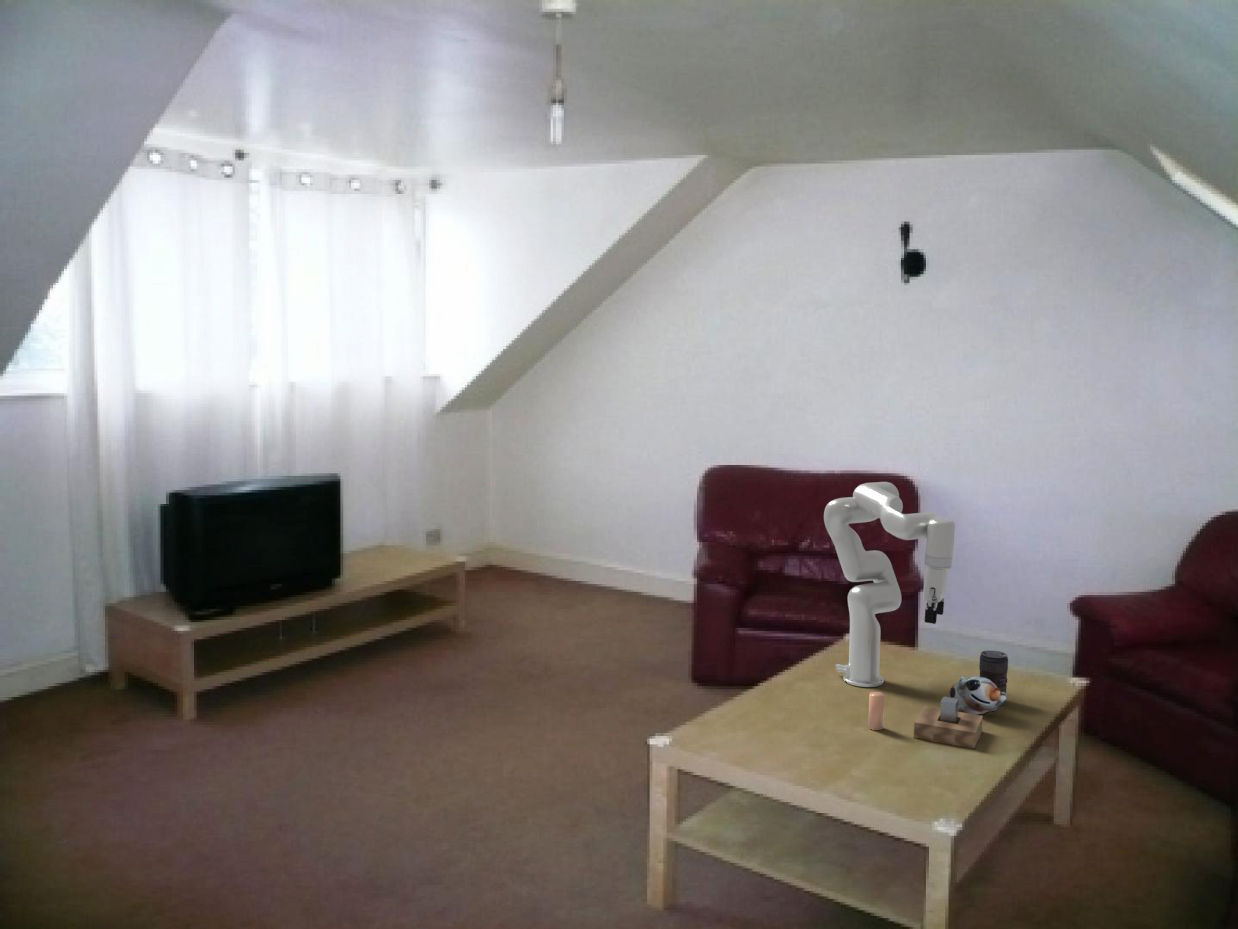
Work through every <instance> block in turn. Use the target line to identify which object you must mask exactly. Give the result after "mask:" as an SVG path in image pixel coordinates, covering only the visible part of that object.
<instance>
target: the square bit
mask: <svg viewBox="0 0 1238 929" xmlns="http://www.w3.org/2000/svg"><path fill="white" fill-rule="evenodd" d="M958 703H959V699H955V698H950V697H948V696H943V697H942V699H941V700H940V708H939V709H940V721H942V722H948V723H954V724H957V723H958Z"/></svg>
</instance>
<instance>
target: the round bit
mask: <svg viewBox="0 0 1238 929" xmlns="http://www.w3.org/2000/svg"><path fill="white" fill-rule="evenodd" d="M868 694H869V696H868V698H869V699H868V720H867V722H868V723H867V727H869V728H871V729H874V730H881V729H884V711H885V710H884V709H885V708H884V706H885V705H884V704H885V702H884V701H885V694H884V693H882V692H880V691H870V692H869V693H868ZM869 728H868V729H869ZM881 731H882V730H881Z"/></svg>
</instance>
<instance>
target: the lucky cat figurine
mask: <svg viewBox="0 0 1238 929" xmlns="http://www.w3.org/2000/svg"><path fill="white" fill-rule="evenodd" d="M949 697H950V698H955V699H959V703H958V712H963V713H969V714H975V715H983V714H985V713H987V712H992V711H993V712H994V711H996V710H998V709H999V707H1000V706H1001V705H1003V704H1004V703H1005V701H1006V700H1007V699H1008V693H1006V694H1005V692H1001V691H1000V689H998V688H997V686H996V685H995V684H994V683H993V682H991V681H990V680H989V679H987V678H982V677H980V675H979V676H978V675H977V676H969V677H967V678H966V676H964V675H963V676H961V677H960V678H959V681H958V682H955V683H954V684H952V686H951V688H950V689H949ZM1002 703H1003V704H1002Z"/></svg>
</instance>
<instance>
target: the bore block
mask: <svg viewBox="0 0 1238 929" xmlns="http://www.w3.org/2000/svg"><path fill="white" fill-rule="evenodd" d="M983 718H984V715H982V714H978V715H975V714H969V713H963V712H958V723H957V724H954V723H948V722H942V721H940V708H939V707H931V706H926V705H925V706H923V707H922V709H921V711H920V712H919V714H918V715H917V717H916V719H915V721H914V722H913V723H914V725H913V727H914V728H913V738H914V737H917V738H921V739H920V740H923V739H926V740H925V741H928V740H930V741H929V742H935V743H939V742H943V743H942V744H945V743H947V744H946V745H950V744H952V745H951V746H956V745H957V746H956V747H961V746H962V747H963V748H968V749H972V748H976V746H977V743H978V742H979V739H980V738H981V735H982V732H983V720H984V719H983ZM917 738H916V739H917Z"/></svg>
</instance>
